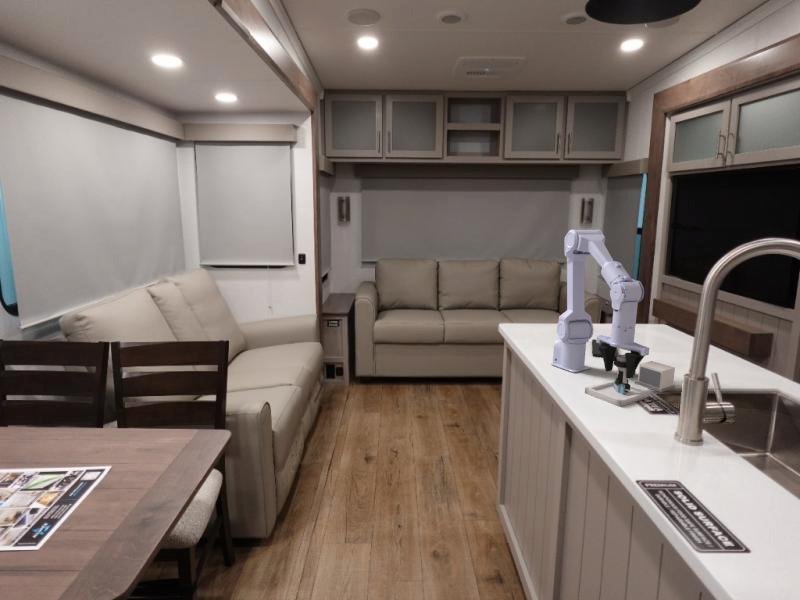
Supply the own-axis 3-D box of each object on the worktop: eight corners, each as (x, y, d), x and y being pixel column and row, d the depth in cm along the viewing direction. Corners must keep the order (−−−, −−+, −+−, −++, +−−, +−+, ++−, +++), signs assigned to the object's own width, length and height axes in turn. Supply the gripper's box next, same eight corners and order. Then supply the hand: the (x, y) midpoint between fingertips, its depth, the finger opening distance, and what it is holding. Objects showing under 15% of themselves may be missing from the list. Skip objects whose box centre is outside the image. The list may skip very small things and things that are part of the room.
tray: (584, 392, 137) (585, 387, 136) (614, 384, 143) (614, 379, 143) (619, 406, 128) (620, 401, 127) (649, 397, 134) (650, 391, 134)
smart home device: (615, 340, 185) (618, 355, 167) (614, 345, 186) (618, 360, 167) (591, 338, 188) (592, 353, 170) (591, 343, 188) (591, 358, 170)
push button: (638, 396, 133) (641, 360, 131) (619, 397, 132) (622, 361, 130) (624, 387, 139) (627, 353, 137) (606, 388, 139) (609, 354, 137)
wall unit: (635, 383, 144) (637, 363, 143) (649, 379, 148) (651, 360, 147) (661, 392, 138) (663, 371, 136) (675, 387, 141) (677, 367, 140)
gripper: (590, 322, 136) (587, 368, 138) (639, 333, 124) (634, 385, 126) (607, 319, 139) (603, 364, 142) (656, 330, 127) (650, 380, 130)
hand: (618, 374), depth 134 cm, fingers open, 6 cm apart
